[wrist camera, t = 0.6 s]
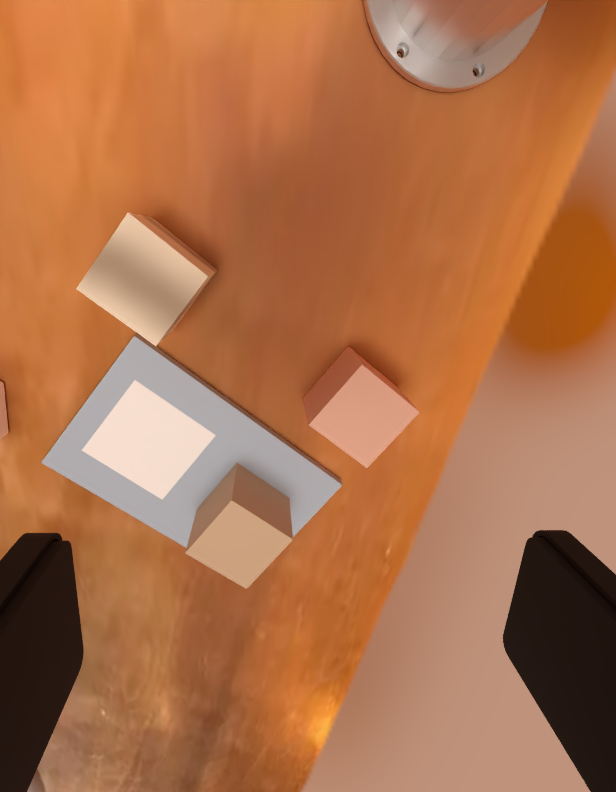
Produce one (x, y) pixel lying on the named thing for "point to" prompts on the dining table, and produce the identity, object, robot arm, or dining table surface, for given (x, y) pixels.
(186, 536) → the board
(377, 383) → the terracotta block
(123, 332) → the dining table surface
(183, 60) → the dining table surface
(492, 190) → the dining table surface
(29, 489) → the dining table surface
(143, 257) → the birch block
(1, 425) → the jar
